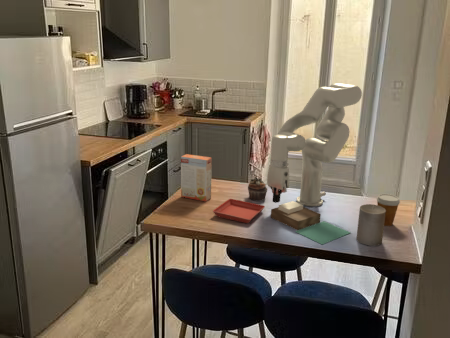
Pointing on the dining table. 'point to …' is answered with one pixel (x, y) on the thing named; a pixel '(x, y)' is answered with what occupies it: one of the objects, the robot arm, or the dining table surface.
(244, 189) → the dining table surface
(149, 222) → the dining table surface
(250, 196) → the cupcake
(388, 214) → the disposable coffee cup
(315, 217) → the brown flat block
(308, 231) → the mat
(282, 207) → the beige flat block
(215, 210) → the plant saucer
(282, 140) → the robot arm
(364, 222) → the pillar candle
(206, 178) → the cracker box
